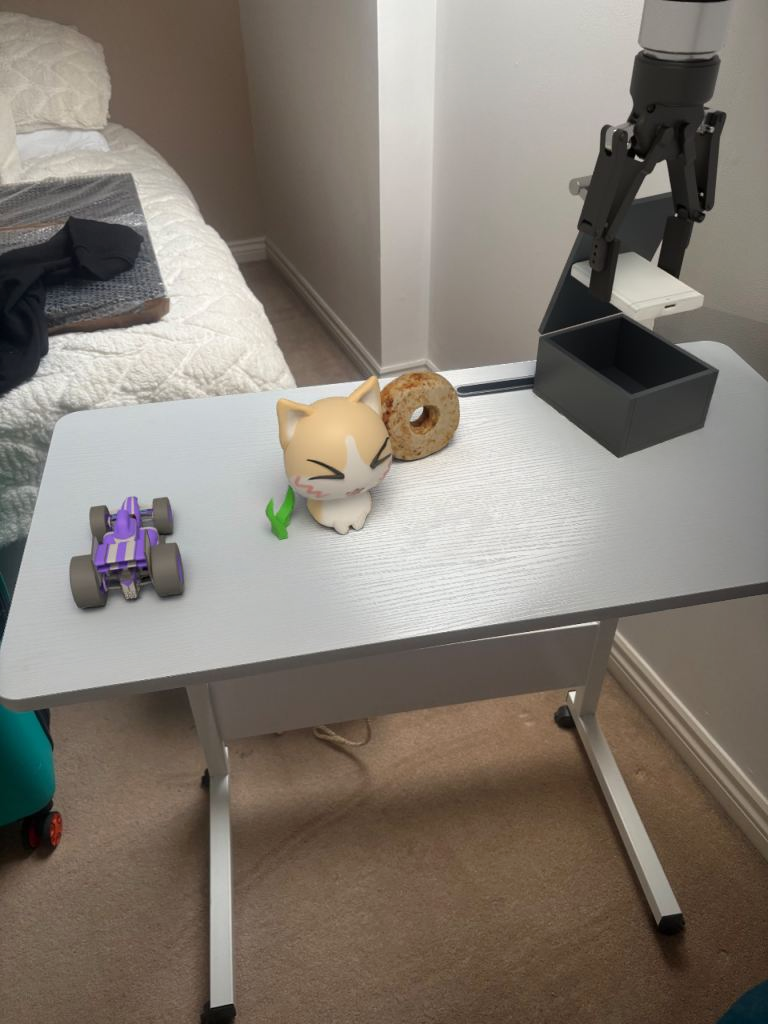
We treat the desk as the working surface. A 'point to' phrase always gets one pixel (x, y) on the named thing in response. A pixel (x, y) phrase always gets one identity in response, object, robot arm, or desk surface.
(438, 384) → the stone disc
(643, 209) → the box lid
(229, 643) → the desk surface
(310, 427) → the kitten
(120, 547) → the toy race car
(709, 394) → the black box
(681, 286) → the hard drive
